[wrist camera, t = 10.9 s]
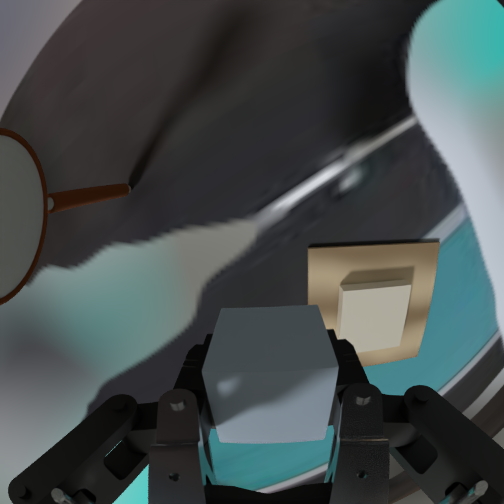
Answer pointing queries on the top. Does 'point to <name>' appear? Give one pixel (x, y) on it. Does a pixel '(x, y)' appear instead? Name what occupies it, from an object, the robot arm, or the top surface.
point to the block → (270, 374)
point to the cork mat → (376, 270)
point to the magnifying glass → (31, 210)
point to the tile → (372, 314)
